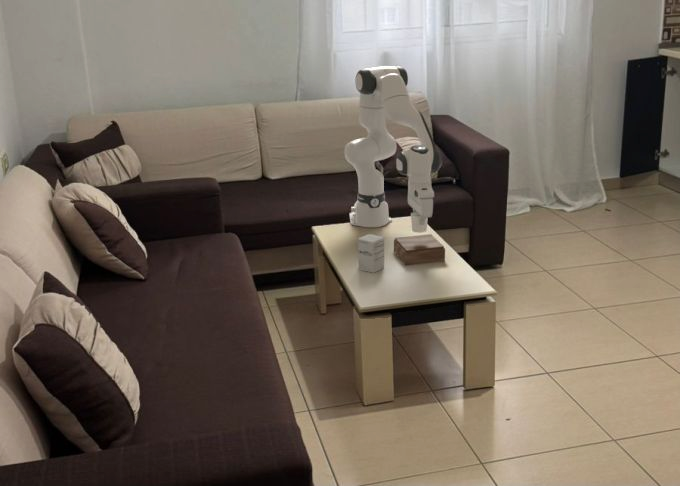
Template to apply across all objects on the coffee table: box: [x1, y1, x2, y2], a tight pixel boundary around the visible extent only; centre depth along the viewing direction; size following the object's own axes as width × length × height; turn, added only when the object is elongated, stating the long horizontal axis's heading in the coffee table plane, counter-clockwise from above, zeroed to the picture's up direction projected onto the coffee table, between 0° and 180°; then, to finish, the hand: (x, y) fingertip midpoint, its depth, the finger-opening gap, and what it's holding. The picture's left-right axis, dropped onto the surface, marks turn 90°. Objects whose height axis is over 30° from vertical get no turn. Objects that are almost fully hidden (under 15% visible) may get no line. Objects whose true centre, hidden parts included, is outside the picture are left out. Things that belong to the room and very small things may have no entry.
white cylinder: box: [410, 211, 429, 233], centre depth 337 cm, size 7×7×7 cm
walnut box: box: [393, 233, 446, 266], centre depth 341 cm, size 16×16×6 cm
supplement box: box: [358, 233, 385, 274], centre depth 329 cm, size 7×7×13 cm
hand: (419, 222), depth 337 cm, fingers closed on white cylinder, 5 cm apart
